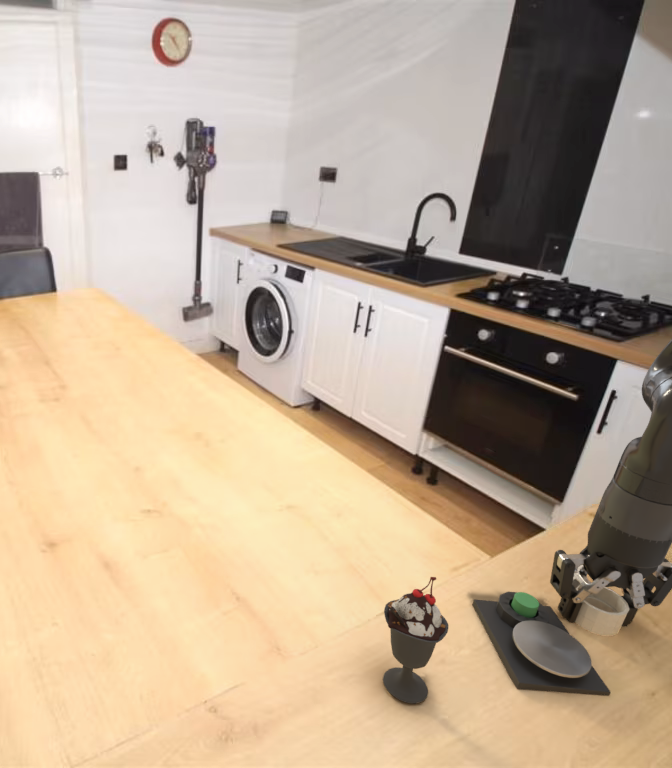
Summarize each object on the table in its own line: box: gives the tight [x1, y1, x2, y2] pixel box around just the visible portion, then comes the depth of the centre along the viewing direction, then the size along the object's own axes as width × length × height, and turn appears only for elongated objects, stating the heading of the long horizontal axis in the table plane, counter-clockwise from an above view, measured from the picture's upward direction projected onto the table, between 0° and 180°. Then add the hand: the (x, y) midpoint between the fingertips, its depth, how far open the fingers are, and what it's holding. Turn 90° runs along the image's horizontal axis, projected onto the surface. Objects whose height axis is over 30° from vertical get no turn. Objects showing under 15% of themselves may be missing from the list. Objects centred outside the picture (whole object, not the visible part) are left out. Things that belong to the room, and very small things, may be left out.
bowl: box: [574, 581, 629, 637], centre depth 73 cm, size 6×6×4 cm
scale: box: [472, 591, 611, 697], centre depth 69 cm, size 10×13×3 cm
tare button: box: [511, 591, 540, 618], centre depth 72 cm, size 3×3×2 cm
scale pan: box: [512, 620, 593, 678], centre depth 66 cm, size 8×8×1 cm
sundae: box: [382, 576, 449, 704], centre depth 62 cm, size 7×7×15 cm
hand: (592, 619), depth 73 cm, fingers closed on bowl, 6 cm apart
